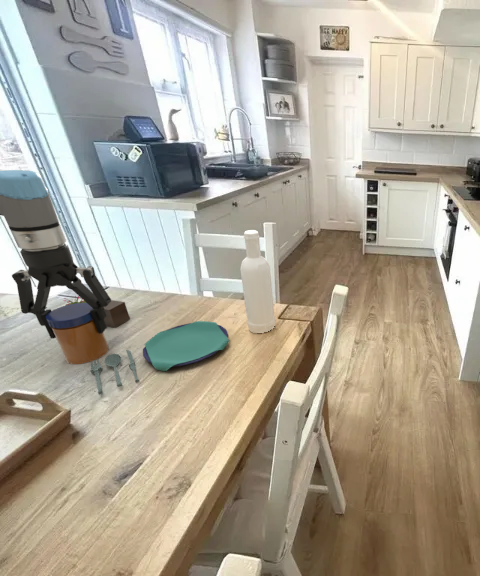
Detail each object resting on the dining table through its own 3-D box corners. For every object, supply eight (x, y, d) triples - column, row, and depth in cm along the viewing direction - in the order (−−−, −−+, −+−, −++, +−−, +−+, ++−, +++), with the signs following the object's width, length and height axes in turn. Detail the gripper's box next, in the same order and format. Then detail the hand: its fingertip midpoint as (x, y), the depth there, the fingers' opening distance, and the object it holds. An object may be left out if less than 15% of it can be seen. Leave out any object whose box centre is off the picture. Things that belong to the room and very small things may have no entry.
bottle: (268, 317, 104) (258, 226, 91) (280, 327, 99) (272, 233, 86) (243, 325, 99) (229, 230, 86) (255, 337, 94) (242, 237, 81)
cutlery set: (240, 351, 88) (239, 344, 86) (97, 404, 69) (93, 396, 68) (215, 320, 100) (214, 314, 99) (89, 357, 81) (86, 350, 80)
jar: (56, 361, 80) (37, 321, 74) (89, 341, 87) (74, 304, 82) (86, 366, 79) (69, 326, 74) (117, 346, 86) (103, 308, 81)
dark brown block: (100, 325, 94) (93, 307, 91) (115, 317, 98) (109, 299, 96) (115, 327, 94) (109, 309, 91) (130, 319, 98) (124, 301, 95)
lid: (87, 326, 76) (84, 318, 75) (39, 330, 73) (36, 323, 72) (103, 308, 83) (101, 301, 82) (60, 311, 81) (57, 304, 80)
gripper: (-37, 254, 64) (13, 347, 74) (96, 249, 70) (125, 335, 80) (-9, 242, 70) (33, 330, 80) (110, 239, 77) (136, 320, 87)
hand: (79, 332), depth 80 cm, fingers closed on lid, 9 cm apart
